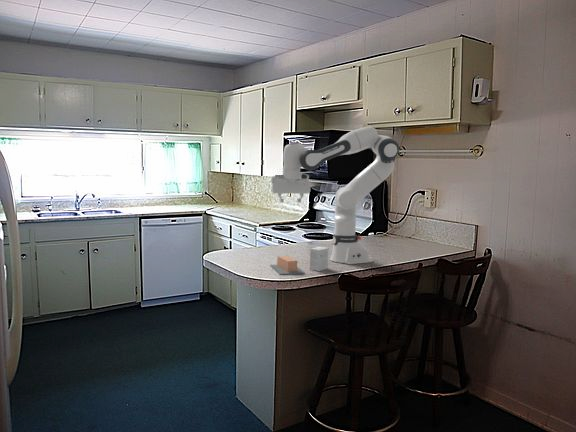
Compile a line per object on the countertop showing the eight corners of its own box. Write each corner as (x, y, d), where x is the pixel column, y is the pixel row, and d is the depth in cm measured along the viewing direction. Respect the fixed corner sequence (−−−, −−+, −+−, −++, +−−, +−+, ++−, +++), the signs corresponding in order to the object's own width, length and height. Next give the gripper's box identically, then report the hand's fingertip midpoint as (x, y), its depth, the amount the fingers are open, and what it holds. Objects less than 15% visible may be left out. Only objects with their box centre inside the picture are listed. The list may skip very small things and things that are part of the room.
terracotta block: (286, 255, 242) (297, 260, 231) (286, 265, 242) (297, 271, 232) (277, 256, 240) (287, 261, 229) (277, 266, 240) (287, 271, 230)
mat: (293, 265, 246) (293, 264, 246) (304, 273, 229) (304, 272, 229) (270, 266, 243) (270, 264, 243) (280, 275, 226) (280, 273, 226)
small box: (318, 266, 244) (319, 246, 243) (328, 268, 241) (328, 247, 240) (309, 269, 238) (310, 248, 237) (318, 271, 235) (319, 250, 233)
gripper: (273, 175, 242) (272, 202, 244) (312, 175, 248) (311, 202, 250) (269, 174, 248) (269, 201, 250) (308, 175, 254) (307, 201, 256)
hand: (290, 202), depth 250 cm, fingers open, 8 cm apart
